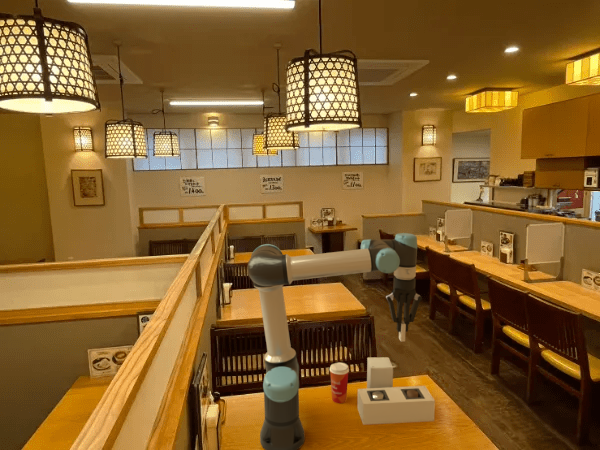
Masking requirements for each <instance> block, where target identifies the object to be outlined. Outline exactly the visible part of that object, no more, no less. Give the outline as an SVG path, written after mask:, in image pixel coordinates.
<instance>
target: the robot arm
mask: <svg viewBox="0 0 600 450" xmlns="http://www.w3.org/2000/svg"><path fill="white" fill-rule="evenodd" d="M417 254H418V238H417V236H416V235H415V234H413V233H410V232H409V233H408V232H402V233H396V234H395V237H394V239H374V238H373V239H372V238H370V239H362V241H361V244H360V249H359V248H358V249H351V250H342V251H341V250H340V251H334V252H332V251H331V252H326V253H325V252H323V253H315V254H305V255H296V256H291V255H289V254H287V253H286V254H283V252H282V250H281V249H280V248H279V247H278V246H276V245H274V244H271V243H265V244H262V245H259V246H258V247H256V248H255V249H254V250H253V252H252V253H251V254H250V255H251V256H250V258H249V260H248V263H247V270H246V271H247V274H248V277H249V278H250V280H251V281H252V282H253V283H252V284H253V287H254V288H256V289H257V290H258V295H259V301H260V308H261V309H260V310H261V317H262V321H263V328H264V336H265V342H266V351H267V352H266V353H265V354H264V356H263V357H264V363H265V364H264V365H265V370H266V371H265V373H266V374H265V375H264V377H263V383H262V387H263V396H264V397H263V400H264V401H263V402H264V404H263V405H264V419H263V424H262V426H261V430H260V434H259V436H260V437H259V438H260V439H259V441H260V442H259V443H260V445H261V447H262V449H265V450H299V449H300V448H301V447H302V446H303V445H304V443H305V441H306V440H305V439H306V437H305V435H306V434H305V429H304V426H303V423H302V421H301V418H300V392H299V391H300V389H299V388H300V380H299V373H300V372H299V371H300V365H299V362H298V359H297V352H296V350H295V349H294V348H292V347H291V346H292V345H291V340H290V332H289V324H288V317H287V310H286V303H285V295H284V288H283V287H284V285H291V284H292V282H293V281H300V280H301V281H302V280H309V279H317V278H329V277H336V276H346V275H352V274H353V275H354V274H355V275H356V274H362V273H372V272H381V273H383V274H393V276H394V277H393V286H392V287H393V288H392V291H391V293H390V294H386V295H385V298H386V300H387V303H388V306H389V311H390V316H391V319H392V321H393V323H396V332H397V333H398V339H399V341H400V342H406V333H407V332H408V331H409V325H410V323H414V321H415V318H416V315H417V312H418V308H419V304H420V303H421V302H422V300H423V297H422V296H421V295H420V294H419V293H417V291H416V278H415V277H416V272H417V256H418V255H417ZM394 298H395V300H396V310H395V304H394V302H393V301H394ZM412 300H413V301H412ZM411 301H412V305H411ZM410 306H411V309H410Z"/></svg>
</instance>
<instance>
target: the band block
mask: <svg viewBox="0 0 600 450" xmlns="http://www.w3.org/2000/svg"><path fill="white" fill-rule="evenodd" d="M408 390H415V391H417V392H418V397H415V398H408V397H407V391H408ZM376 391H378V392H381V393H383V399H374V400H373V399H372V393H373V392H376ZM435 406H436V400H435V398H434V396H432V394H431V393H430V391H429V389H428V388H427V386H426V385H413V386H411V385H410V386H409V385H408V386H393V387H388V388H367V387H366V388H357V411H358V413H359V414H358V415H359V416H360V420H361V422H362V426H364V425H383V424H385V425H386V424H387V425H388V424H401V423H421V422H435V410H436V409H435Z"/></svg>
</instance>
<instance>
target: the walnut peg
mask: <svg viewBox="0 0 600 450" xmlns="http://www.w3.org/2000/svg"><path fill="white" fill-rule="evenodd" d="M407 397H408V398H415V397H418V392H417V391H415V390H408V391H407Z"/></svg>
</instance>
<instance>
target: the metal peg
mask: <svg viewBox="0 0 600 450" xmlns="http://www.w3.org/2000/svg"><path fill="white" fill-rule="evenodd" d="M372 399H373V400H374V399H383V393H381V392H378V391H376V392H373V393H372Z"/></svg>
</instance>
